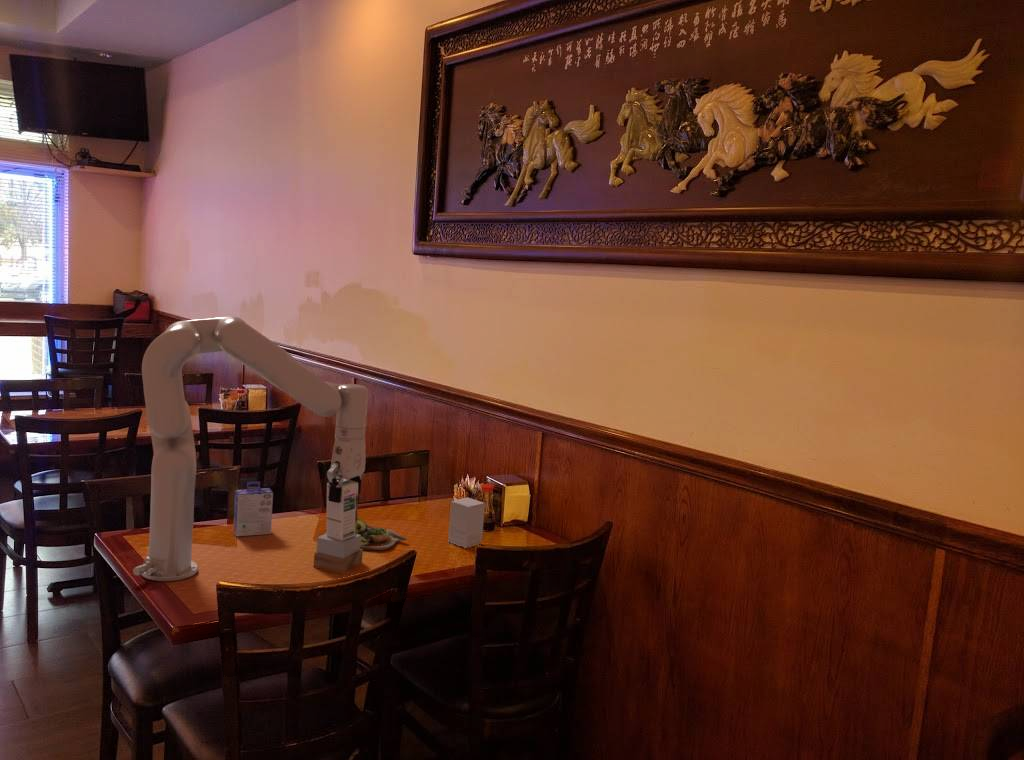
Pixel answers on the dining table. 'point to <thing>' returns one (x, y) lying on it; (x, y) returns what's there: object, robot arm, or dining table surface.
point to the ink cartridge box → (253, 510)
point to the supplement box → (466, 522)
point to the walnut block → (338, 562)
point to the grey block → (338, 546)
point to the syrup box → (343, 512)
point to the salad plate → (376, 536)
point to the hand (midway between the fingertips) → (344, 497)
